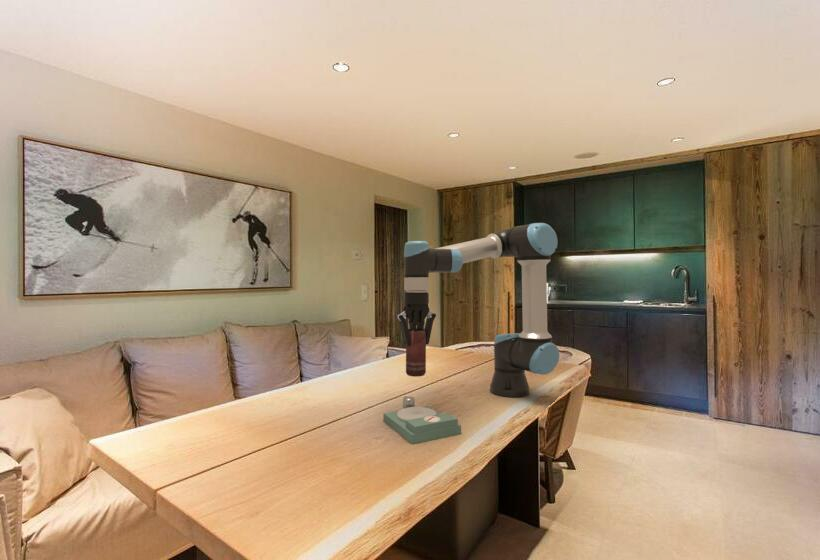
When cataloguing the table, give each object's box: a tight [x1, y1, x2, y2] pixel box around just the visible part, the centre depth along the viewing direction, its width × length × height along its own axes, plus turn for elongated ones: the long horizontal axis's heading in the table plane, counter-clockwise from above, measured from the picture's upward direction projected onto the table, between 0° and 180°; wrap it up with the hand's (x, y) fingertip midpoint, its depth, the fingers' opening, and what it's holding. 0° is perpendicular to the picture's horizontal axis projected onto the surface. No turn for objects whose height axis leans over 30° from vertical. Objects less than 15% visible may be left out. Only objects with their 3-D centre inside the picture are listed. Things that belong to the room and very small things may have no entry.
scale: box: [383, 405, 462, 445], centre depth 123 cm, size 16×20×5 cm
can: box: [405, 327, 427, 378], centre depth 125 cm, size 6×6×14 cm
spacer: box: [402, 396, 416, 409], centre depth 139 cm, size 4×4×4 cm
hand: (416, 367), depth 125 cm, fingers closed
